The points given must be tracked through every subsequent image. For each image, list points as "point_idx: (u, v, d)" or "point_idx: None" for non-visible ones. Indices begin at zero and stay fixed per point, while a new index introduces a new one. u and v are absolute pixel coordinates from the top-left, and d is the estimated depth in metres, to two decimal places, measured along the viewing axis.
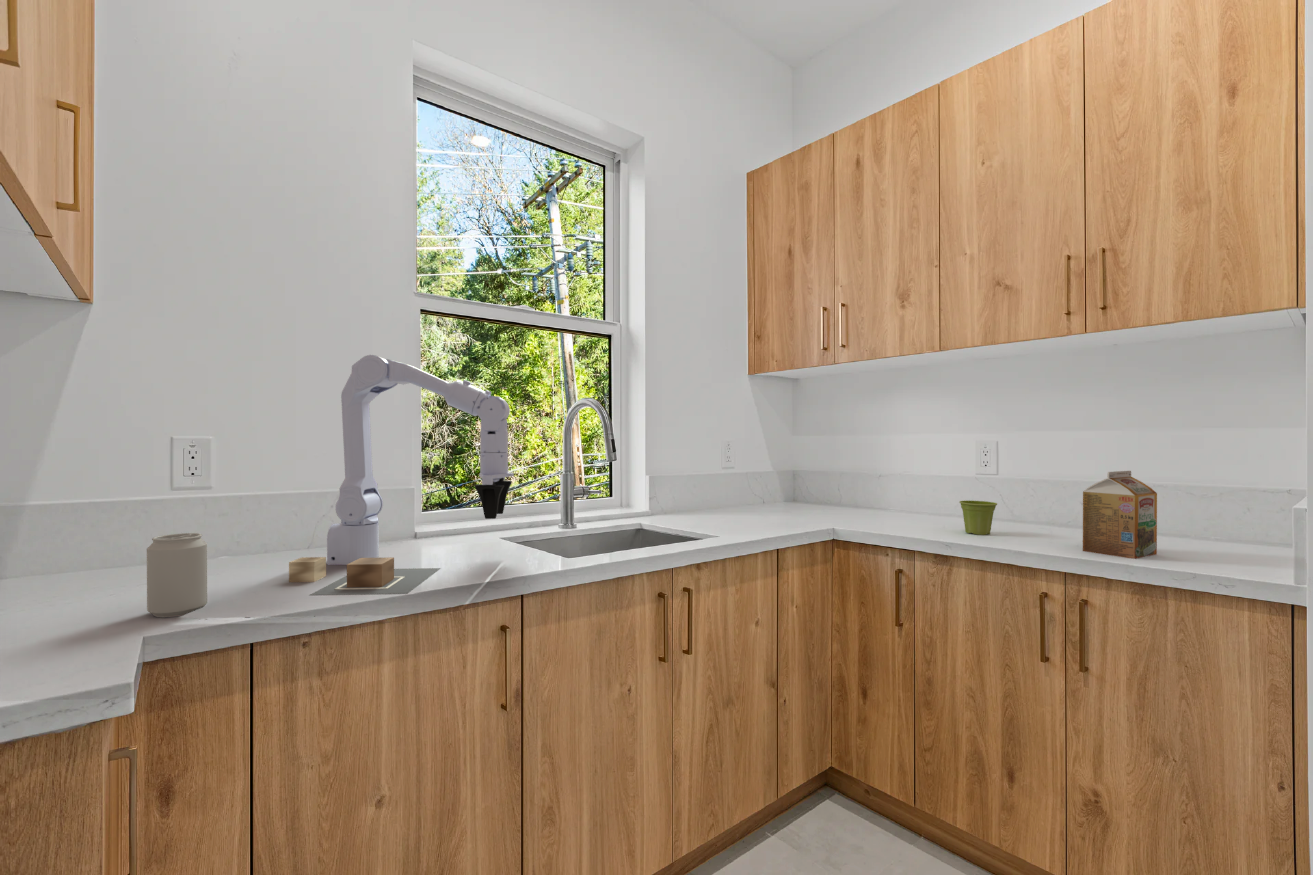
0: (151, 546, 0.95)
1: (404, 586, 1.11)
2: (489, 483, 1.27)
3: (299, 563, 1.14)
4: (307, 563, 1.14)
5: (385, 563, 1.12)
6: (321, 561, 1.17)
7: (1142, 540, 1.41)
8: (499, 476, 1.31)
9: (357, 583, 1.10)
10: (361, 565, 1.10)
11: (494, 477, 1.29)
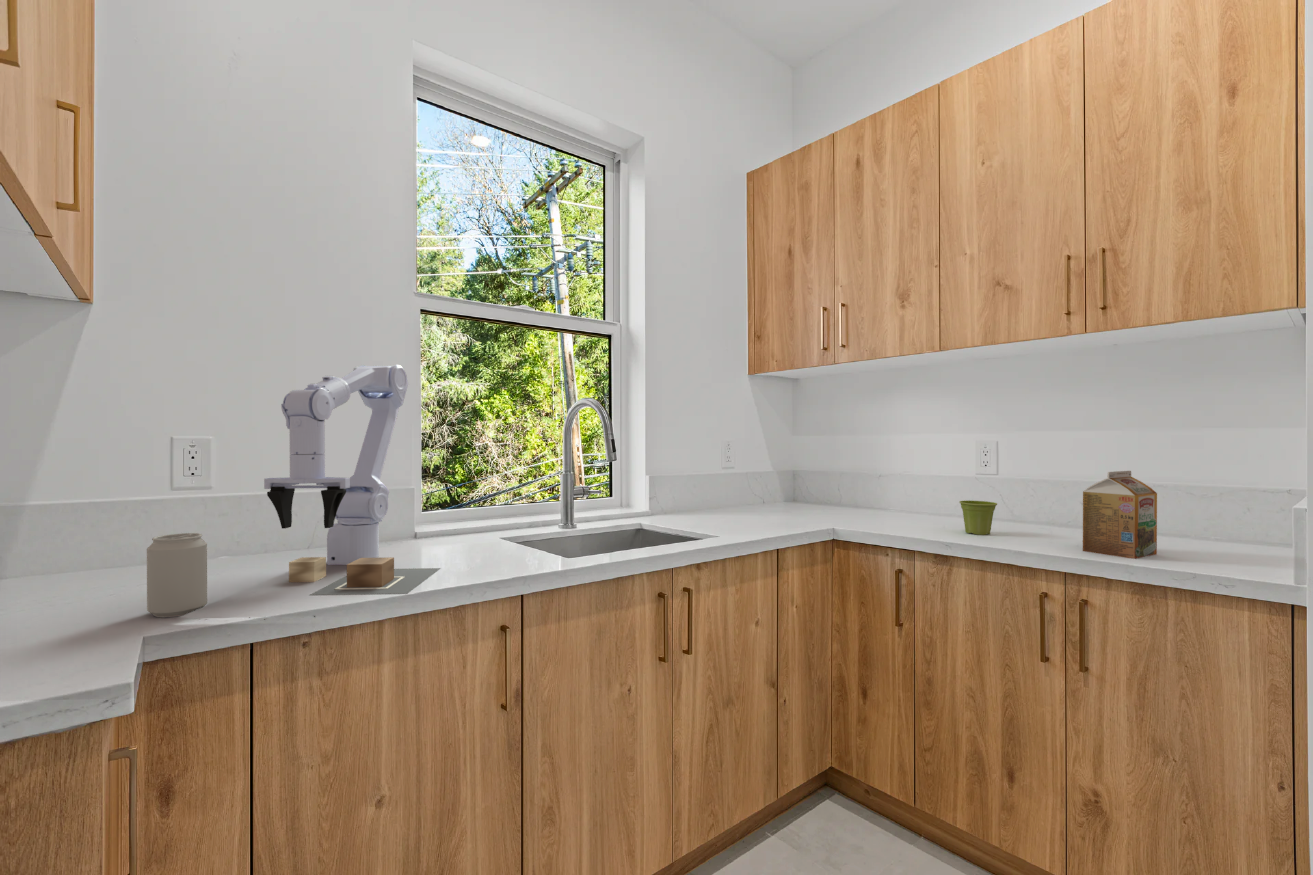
0: (151, 546, 0.95)
1: (404, 586, 1.11)
2: None
3: (299, 563, 1.14)
4: (307, 563, 1.14)
5: (385, 563, 1.12)
6: (321, 561, 1.17)
7: (1142, 540, 1.41)
8: (281, 481, 1.14)
9: (357, 583, 1.10)
10: (361, 565, 1.10)
11: (272, 481, 1.15)
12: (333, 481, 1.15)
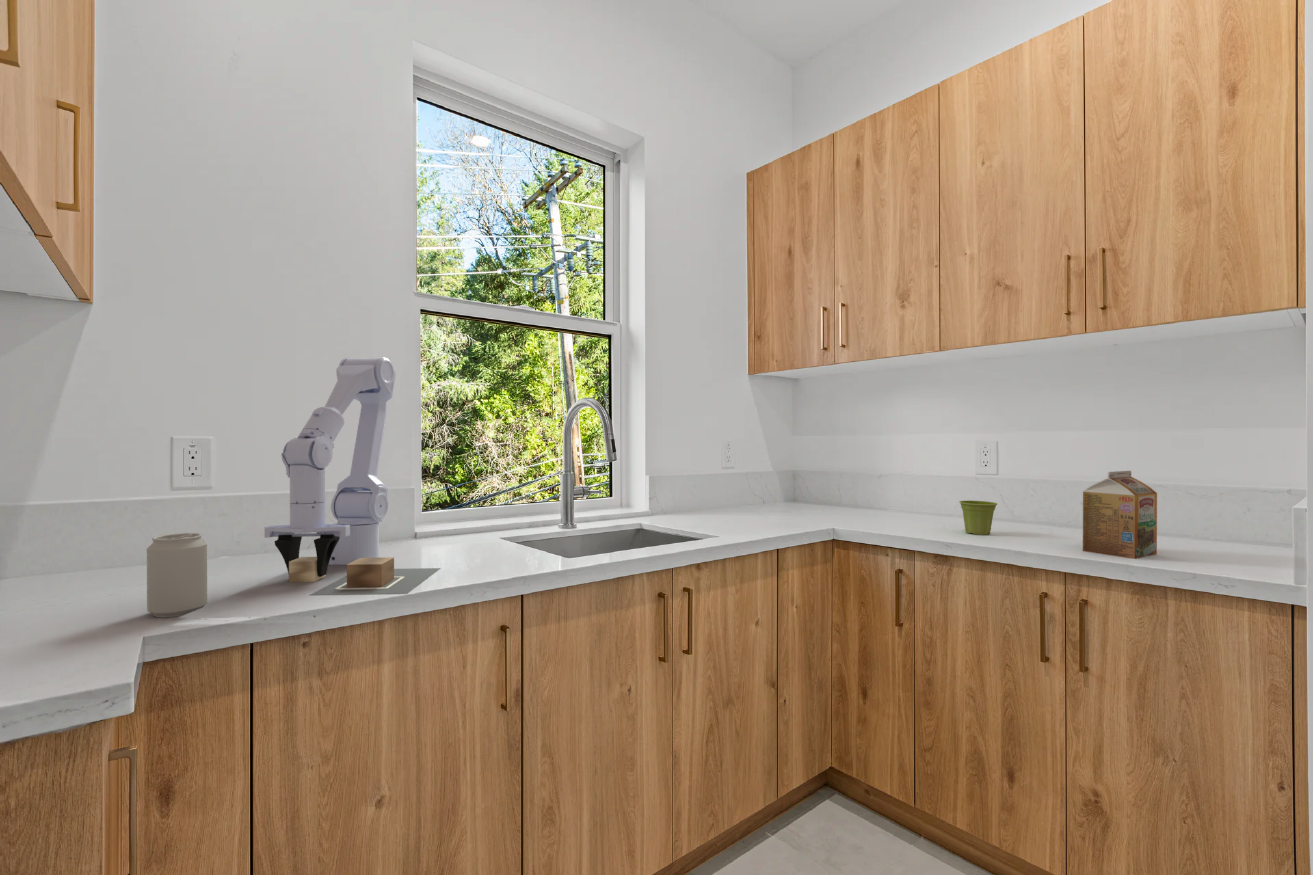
0: (151, 546, 0.95)
1: (404, 586, 1.11)
2: None
3: (299, 562, 1.14)
4: (307, 562, 1.14)
5: (385, 563, 1.12)
6: None
7: (1142, 540, 1.41)
8: (281, 530, 1.14)
9: (357, 583, 1.10)
10: (361, 565, 1.10)
11: (272, 530, 1.15)
12: (333, 529, 1.16)
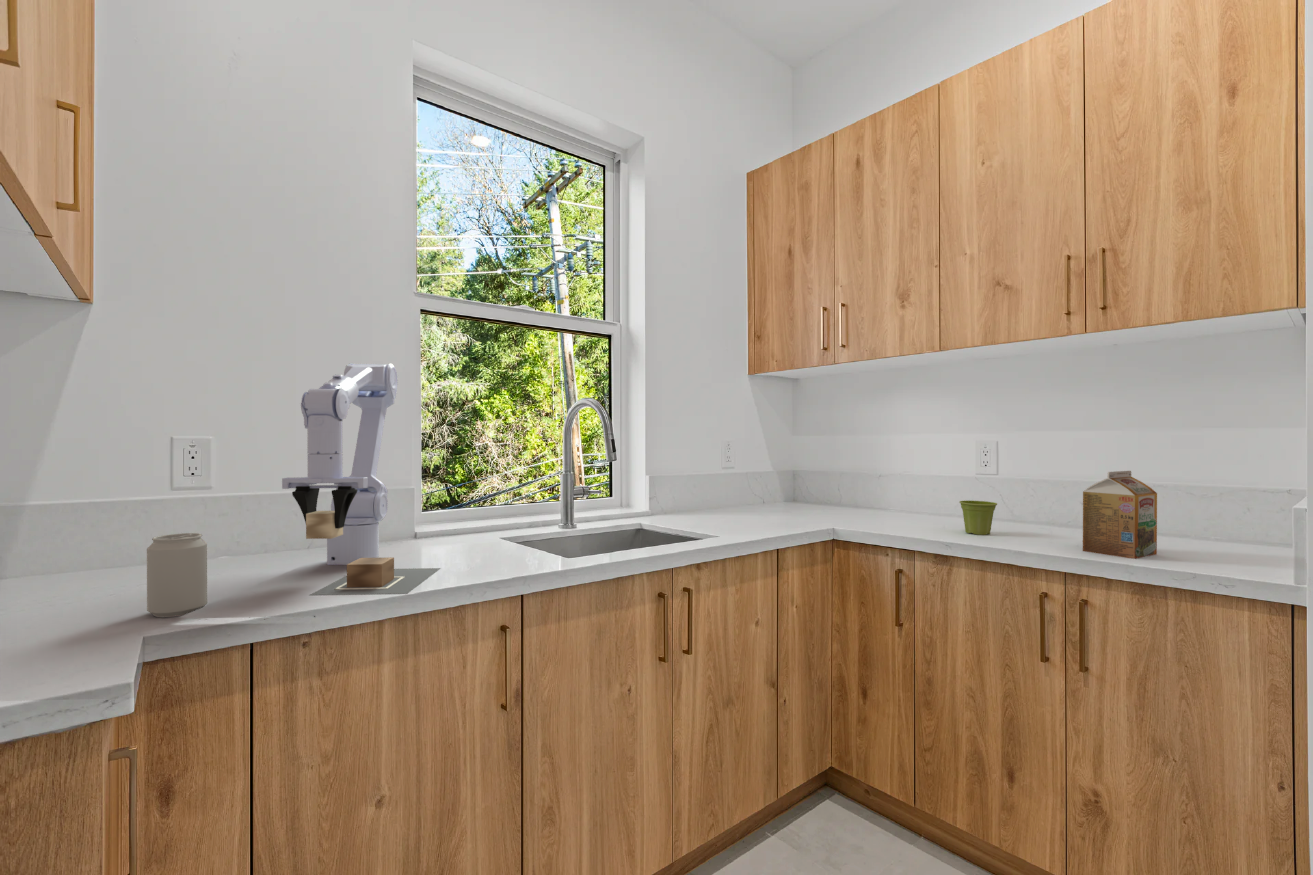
0: (151, 546, 0.95)
1: (404, 586, 1.11)
2: None
3: (316, 515, 1.13)
4: (324, 515, 1.13)
5: (385, 563, 1.12)
6: None
7: (1142, 540, 1.41)
8: (299, 481, 1.13)
9: (357, 583, 1.10)
10: (361, 565, 1.10)
11: (290, 481, 1.14)
12: (351, 481, 1.14)
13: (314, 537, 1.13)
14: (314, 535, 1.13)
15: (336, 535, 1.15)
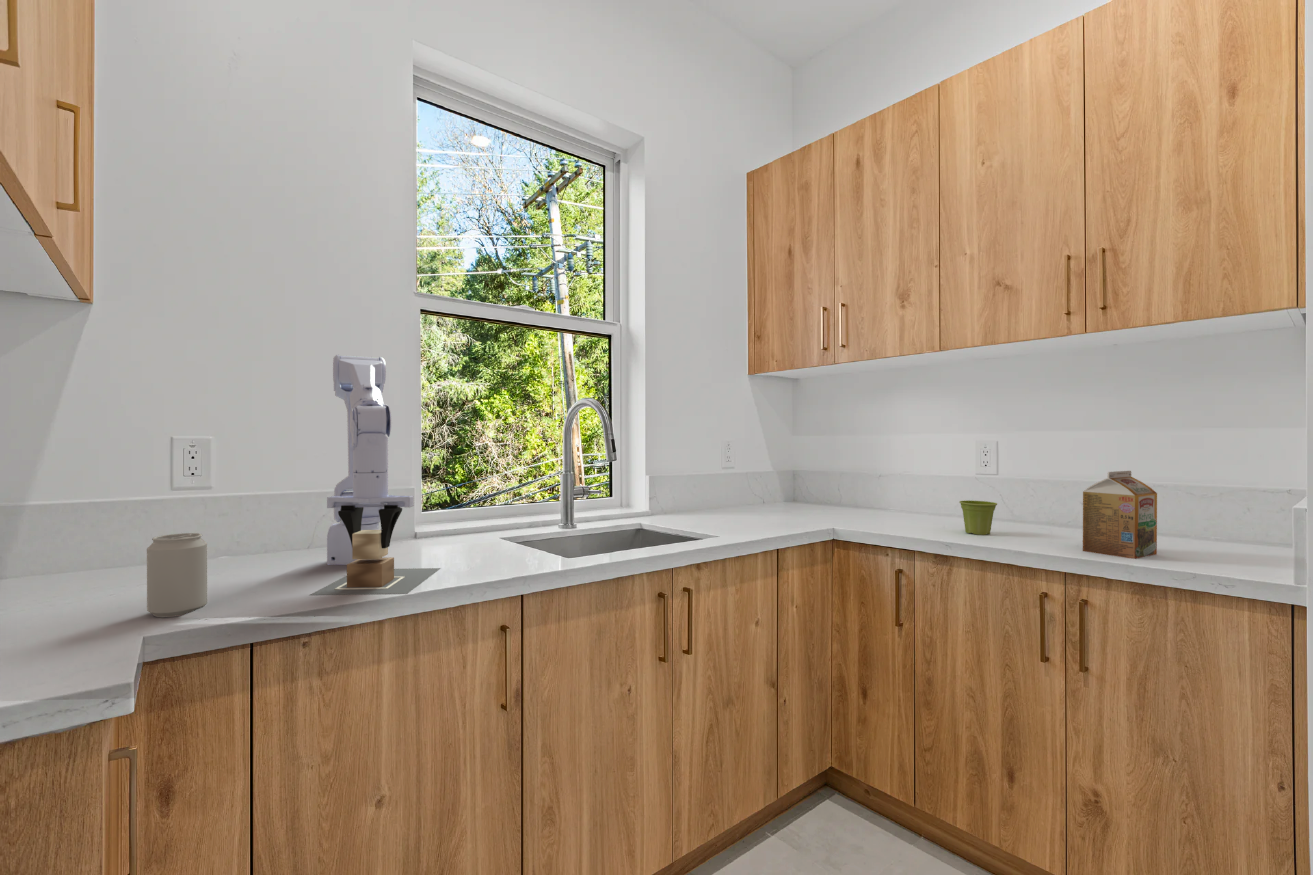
0: (151, 546, 0.95)
1: (404, 586, 1.11)
2: None
3: (363, 535, 1.11)
4: (371, 535, 1.11)
5: (385, 563, 1.12)
6: None
7: (1142, 540, 1.41)
8: (345, 500, 1.11)
9: (357, 583, 1.10)
10: (361, 565, 1.10)
11: (335, 500, 1.12)
12: (398, 500, 1.12)
13: (361, 558, 1.11)
14: (361, 556, 1.11)
15: (382, 555, 1.13)
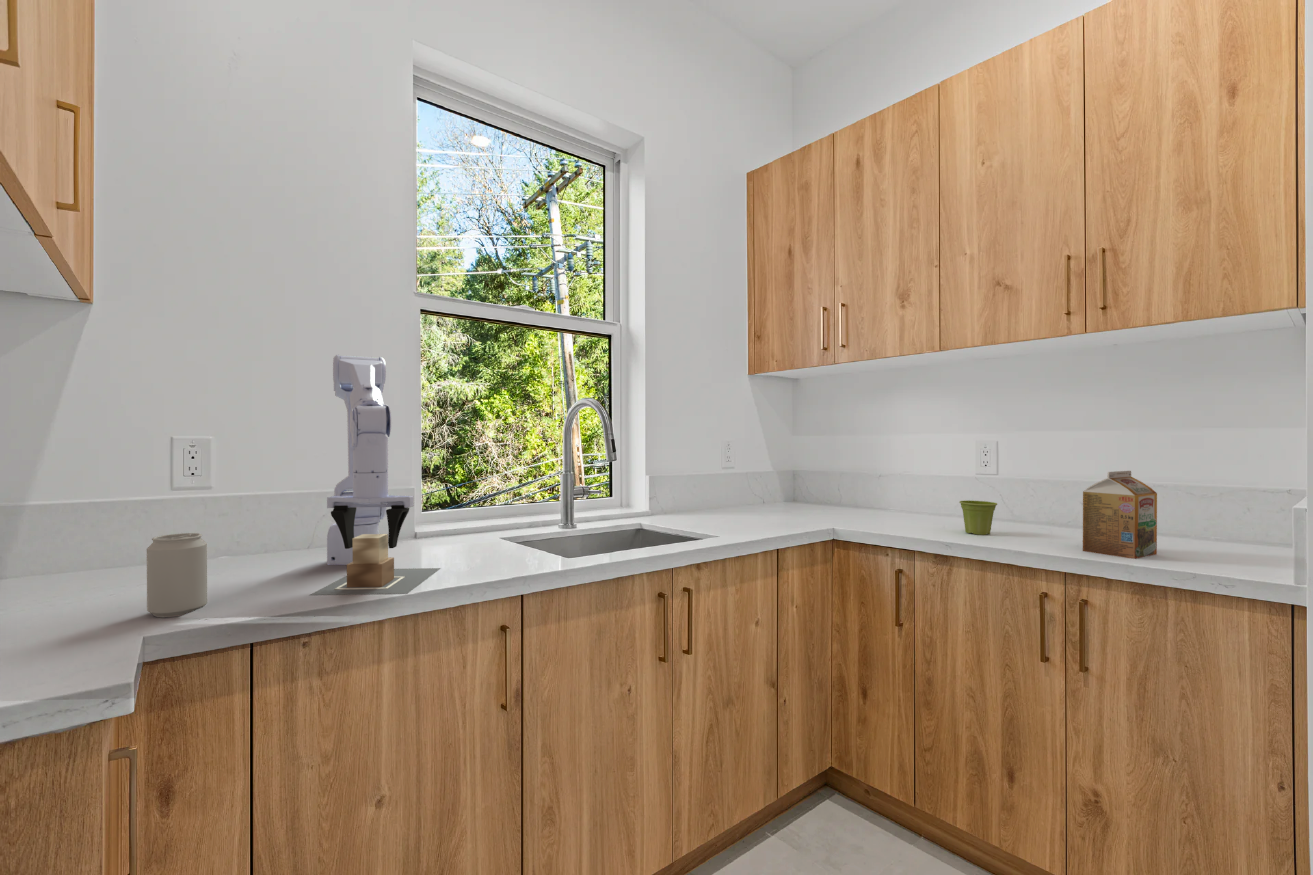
0: (151, 546, 0.95)
1: (404, 586, 1.11)
2: None
3: (363, 539, 1.11)
4: (371, 539, 1.11)
5: (385, 563, 1.12)
6: (384, 538, 1.14)
7: (1142, 540, 1.41)
8: (345, 500, 1.11)
9: (357, 583, 1.10)
10: (361, 565, 1.10)
11: (335, 500, 1.12)
12: (398, 500, 1.12)
13: (361, 562, 1.11)
14: (361, 560, 1.11)
15: (382, 559, 1.13)
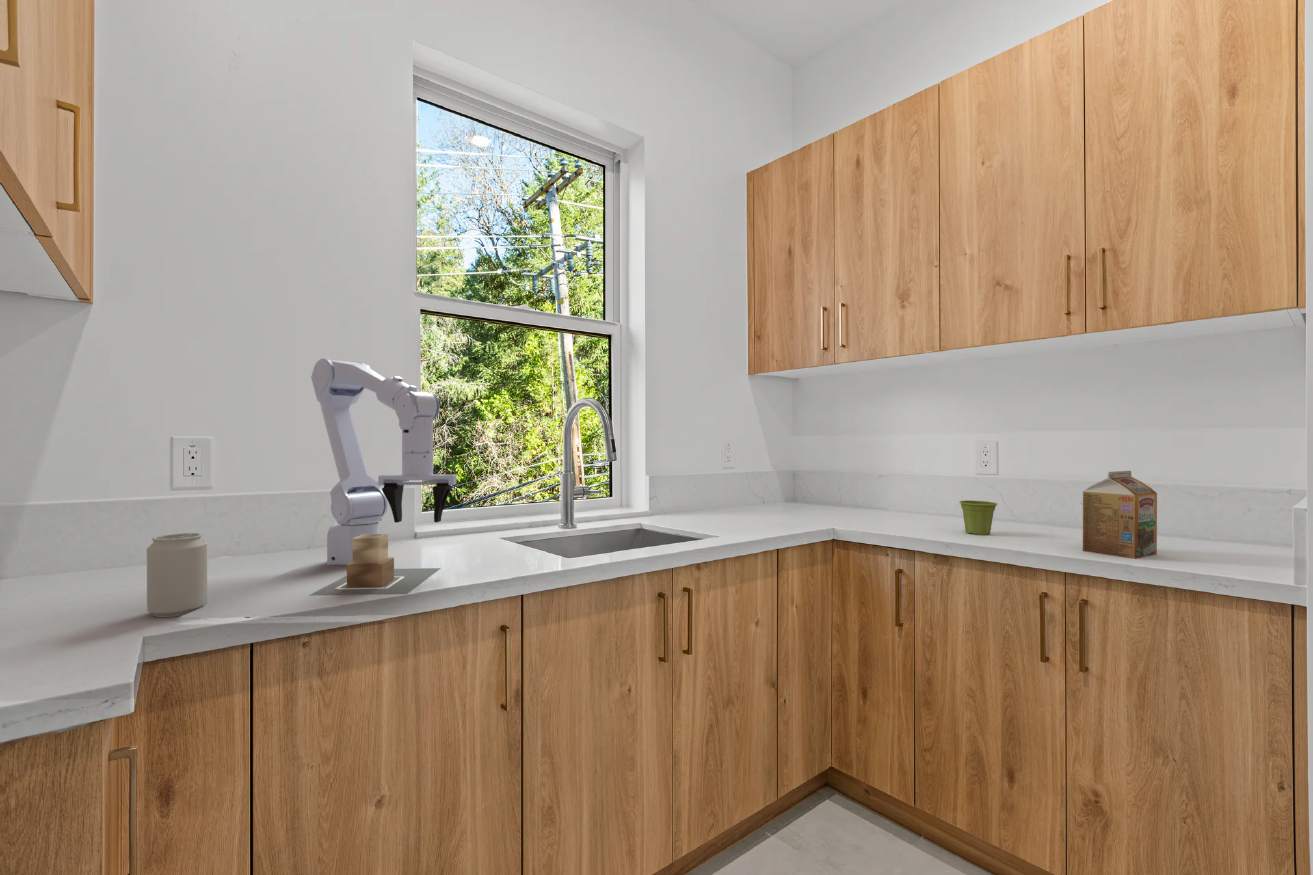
0: (151, 546, 0.95)
1: (404, 586, 1.11)
2: None
3: (363, 539, 1.11)
4: (371, 539, 1.11)
5: (385, 563, 1.12)
6: (384, 538, 1.14)
7: (1142, 540, 1.41)
8: (395, 478, 1.22)
9: (357, 583, 1.10)
10: (361, 565, 1.10)
11: (385, 478, 1.22)
12: (442, 478, 1.23)
13: (361, 562, 1.11)
14: (361, 560, 1.11)
15: (382, 559, 1.13)
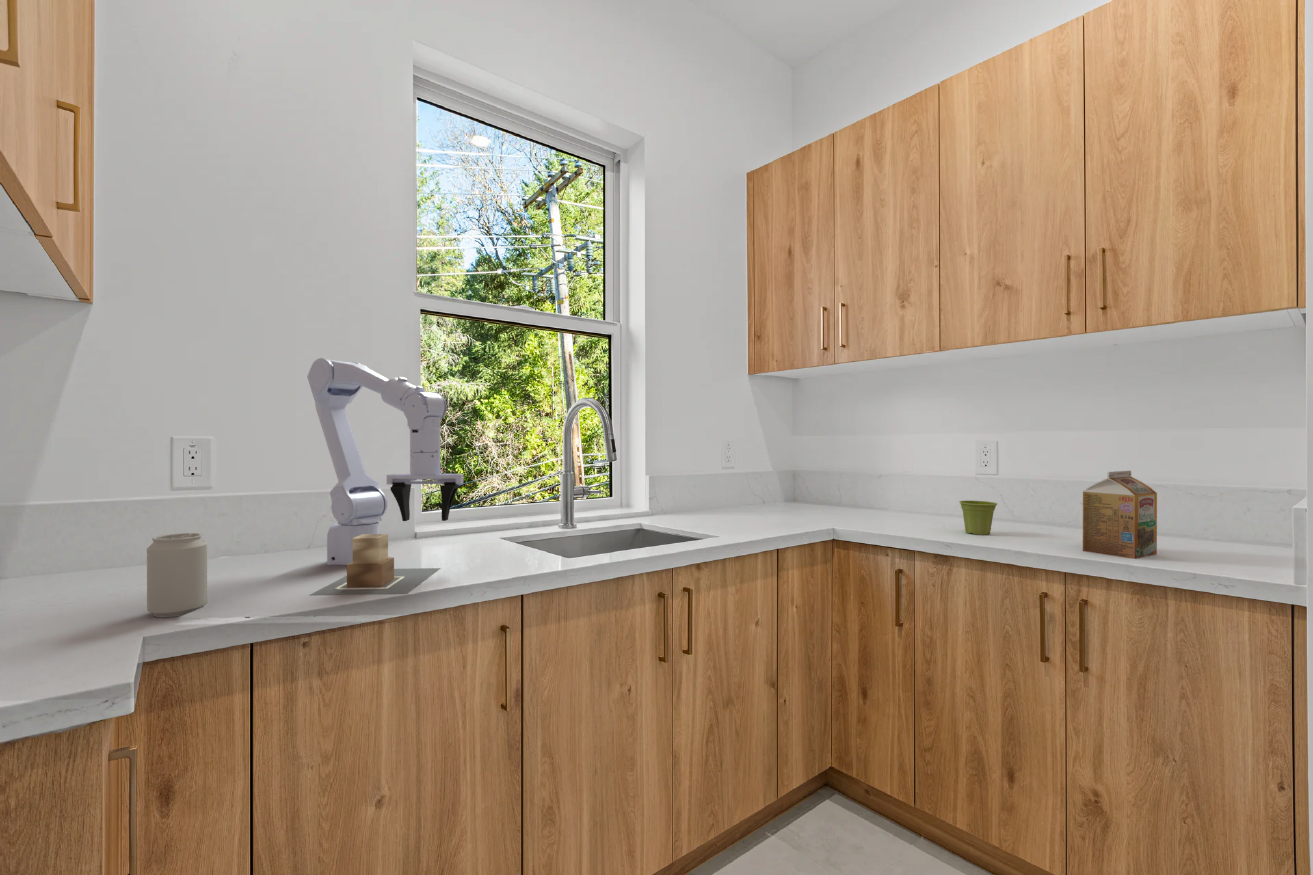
0: (151, 546, 0.95)
1: (404, 586, 1.11)
2: None
3: (363, 539, 1.11)
4: (371, 539, 1.11)
5: (385, 563, 1.12)
6: (384, 538, 1.14)
7: (1142, 540, 1.41)
8: (403, 477, 1.23)
9: (357, 583, 1.10)
10: (361, 565, 1.10)
11: (394, 477, 1.24)
12: (450, 477, 1.25)
13: (361, 562, 1.11)
14: (361, 560, 1.11)
15: (382, 559, 1.13)
